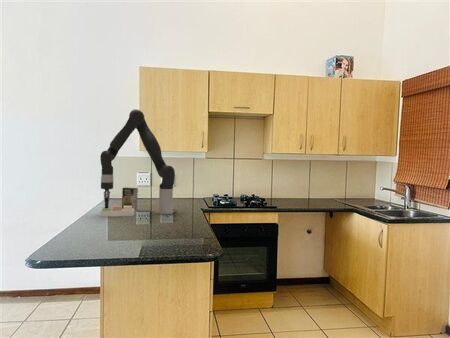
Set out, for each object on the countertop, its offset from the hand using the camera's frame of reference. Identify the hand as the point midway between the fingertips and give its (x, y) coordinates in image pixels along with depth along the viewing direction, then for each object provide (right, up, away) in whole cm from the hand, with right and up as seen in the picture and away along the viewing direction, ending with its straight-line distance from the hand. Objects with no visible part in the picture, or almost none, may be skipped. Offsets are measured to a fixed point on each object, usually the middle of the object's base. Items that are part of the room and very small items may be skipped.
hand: (106, 208), depth 205 cm
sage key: (0, -3, 0) cm, 3 cm away
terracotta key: (+6, -2, +2) cm, 7 cm away
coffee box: (+8, -5, +22) cm, 24 cm away
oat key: (+12, -2, +4) cm, 13 cm away
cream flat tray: (+6, -5, +2) cm, 8 cm away
